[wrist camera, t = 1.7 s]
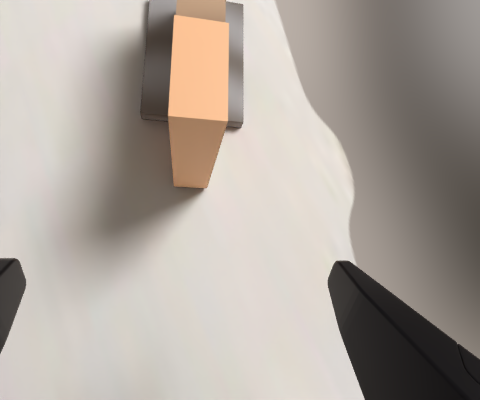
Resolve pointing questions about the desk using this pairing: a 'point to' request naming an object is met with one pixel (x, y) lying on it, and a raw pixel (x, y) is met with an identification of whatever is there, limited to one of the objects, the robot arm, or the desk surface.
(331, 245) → the desk surface
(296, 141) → the desk surface
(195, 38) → the block
